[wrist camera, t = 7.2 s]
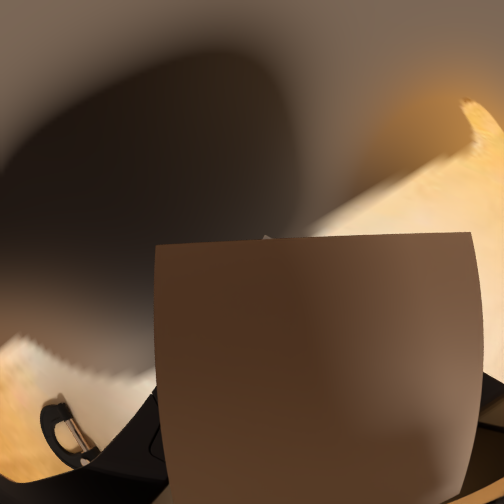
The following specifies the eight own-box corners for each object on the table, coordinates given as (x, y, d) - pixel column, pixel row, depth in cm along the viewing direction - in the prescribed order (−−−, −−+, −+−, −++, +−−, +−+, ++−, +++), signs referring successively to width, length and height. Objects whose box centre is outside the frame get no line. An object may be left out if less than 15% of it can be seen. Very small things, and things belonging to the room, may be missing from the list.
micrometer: (34, 413, 18) (19, 417, 15) (70, 394, 18) (53, 398, 16) (116, 526, 14) (107, 537, 12) (164, 520, 15) (156, 534, 12)
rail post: (317, 376, 14) (459, 493, 2) (244, 380, 14) (182, 539, 2) (314, 305, 15) (471, 231, 3) (241, 309, 15) (155, 245, 3)
